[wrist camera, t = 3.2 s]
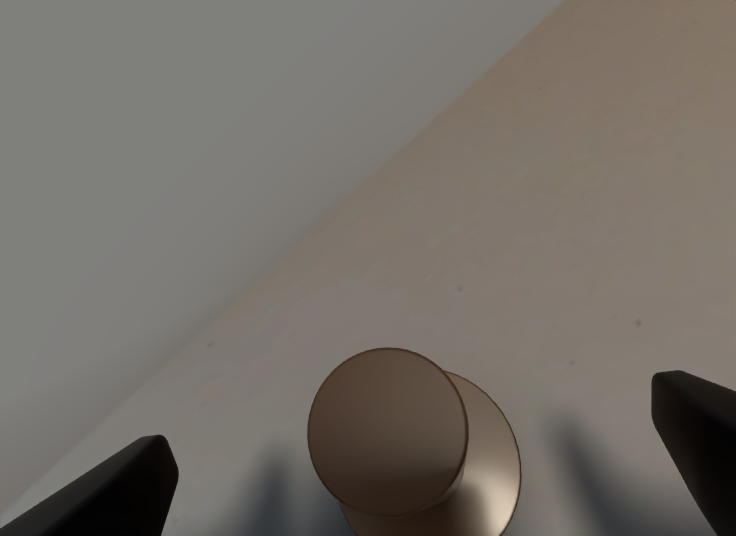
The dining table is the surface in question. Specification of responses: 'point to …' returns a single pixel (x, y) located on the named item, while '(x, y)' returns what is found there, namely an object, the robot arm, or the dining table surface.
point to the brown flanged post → (413, 448)
